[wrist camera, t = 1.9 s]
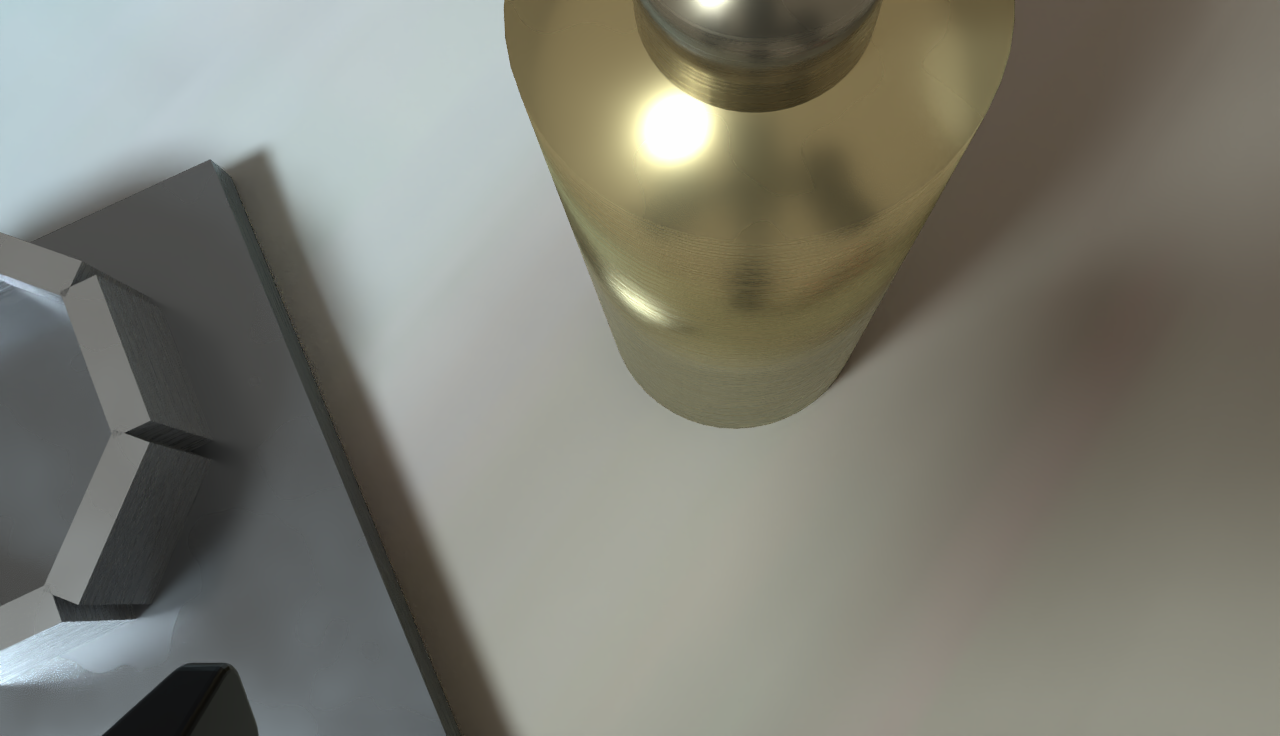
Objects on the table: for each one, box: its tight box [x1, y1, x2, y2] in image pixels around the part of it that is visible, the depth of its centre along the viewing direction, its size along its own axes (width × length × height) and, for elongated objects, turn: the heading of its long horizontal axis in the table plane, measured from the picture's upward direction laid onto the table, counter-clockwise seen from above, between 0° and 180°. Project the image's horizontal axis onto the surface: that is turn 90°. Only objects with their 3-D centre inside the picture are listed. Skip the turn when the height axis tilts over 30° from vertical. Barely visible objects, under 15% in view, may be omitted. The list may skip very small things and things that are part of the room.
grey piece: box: [0, 159, 461, 736], centre depth 21 cm, size 16×12×4 cm
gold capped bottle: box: [504, 0, 1015, 429], centre depth 16 cm, size 5×5×14 cm
